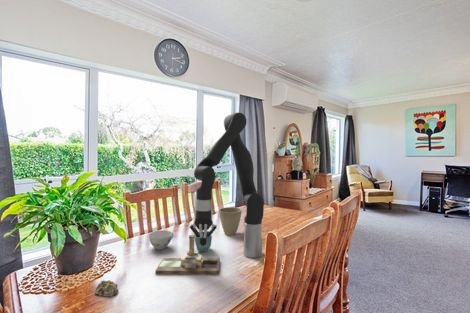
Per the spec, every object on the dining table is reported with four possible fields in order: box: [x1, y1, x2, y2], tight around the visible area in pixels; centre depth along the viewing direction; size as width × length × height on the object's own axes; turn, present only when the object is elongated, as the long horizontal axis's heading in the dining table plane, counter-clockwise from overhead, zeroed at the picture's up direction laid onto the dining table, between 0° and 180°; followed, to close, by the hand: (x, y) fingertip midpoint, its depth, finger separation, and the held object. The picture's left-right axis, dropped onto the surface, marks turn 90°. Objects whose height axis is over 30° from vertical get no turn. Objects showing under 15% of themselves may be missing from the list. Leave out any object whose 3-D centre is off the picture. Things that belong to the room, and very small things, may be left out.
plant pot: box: [218, 206, 243, 237], centre depth 166 cm, size 15×15×16 cm
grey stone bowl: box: [148, 229, 174, 251], centre depth 143 cm, size 15×12×8 cm
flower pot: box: [193, 230, 213, 253], centre depth 139 cm, size 9×9×9 cm
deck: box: [154, 250, 221, 275], centre depth 119 cm, size 28×13×6 cm, turn 91°
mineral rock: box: [94, 279, 119, 298], centre depth 99 cm, size 11×4×8 cm
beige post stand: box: [180, 234, 203, 266], centre depth 119 cm, size 9×5×13 cm, turn 91°
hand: (203, 245), depth 119 cm, fingers closed
